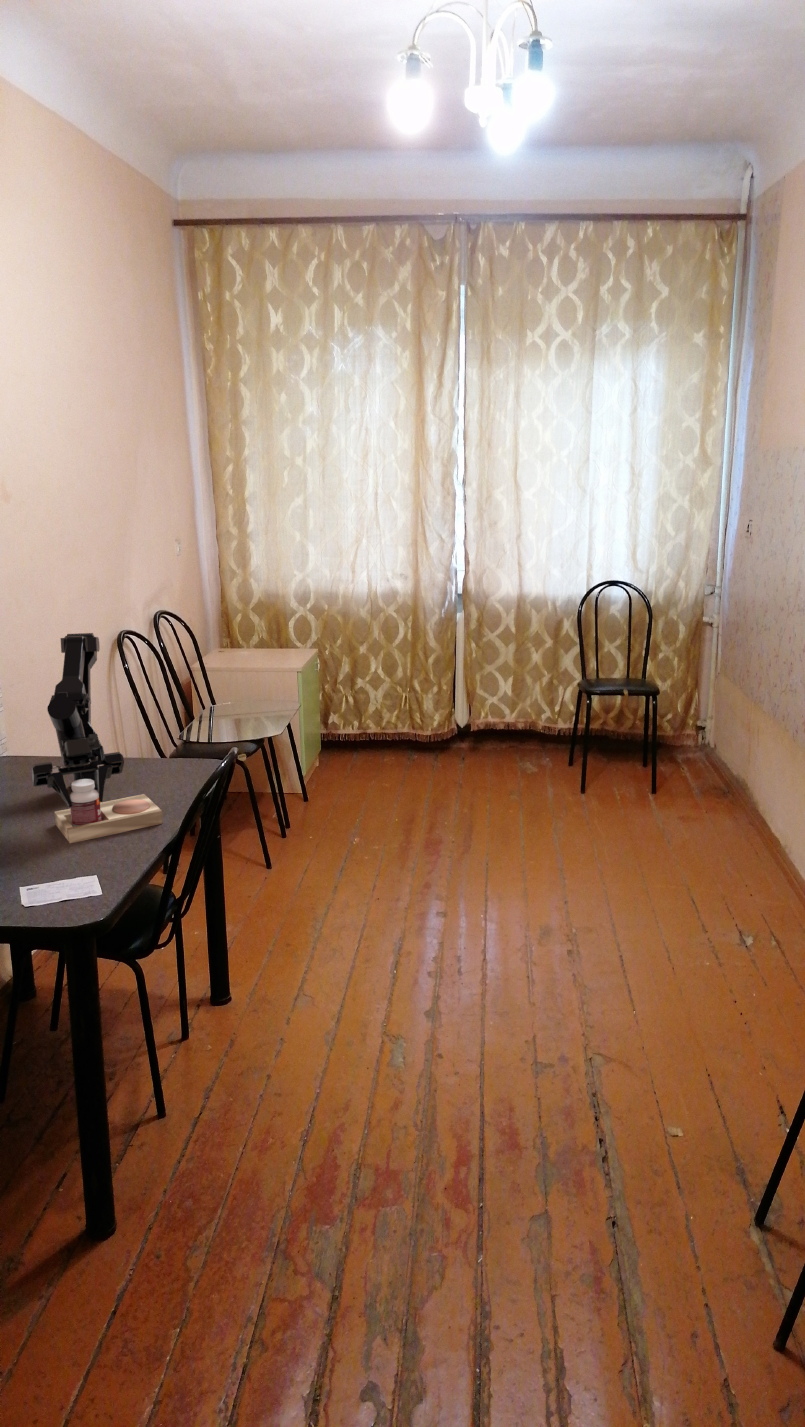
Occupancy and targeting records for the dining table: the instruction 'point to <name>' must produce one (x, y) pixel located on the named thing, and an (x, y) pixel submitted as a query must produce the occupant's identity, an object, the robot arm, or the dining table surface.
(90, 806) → the pill bottle
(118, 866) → the dining table surface
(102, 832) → the board
